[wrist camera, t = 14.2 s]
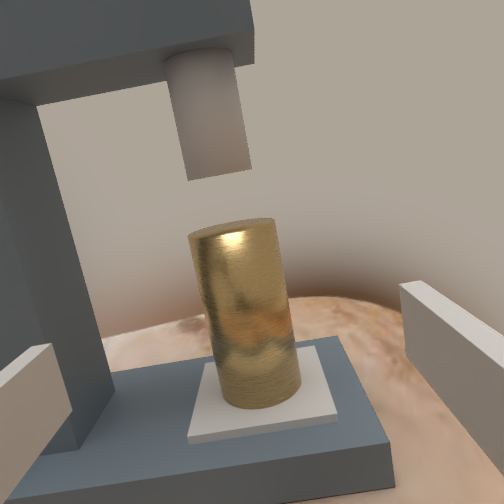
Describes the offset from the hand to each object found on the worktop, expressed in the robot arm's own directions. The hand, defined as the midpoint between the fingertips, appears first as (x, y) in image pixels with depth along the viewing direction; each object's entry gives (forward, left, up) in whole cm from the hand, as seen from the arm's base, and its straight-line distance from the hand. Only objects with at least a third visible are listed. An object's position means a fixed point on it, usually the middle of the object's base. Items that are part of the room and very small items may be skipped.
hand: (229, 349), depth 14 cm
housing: (-5, +8, -7) cm, 12 cm away
